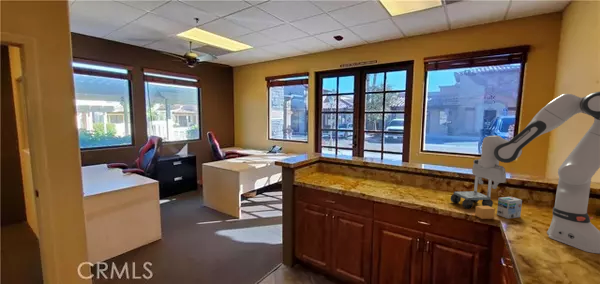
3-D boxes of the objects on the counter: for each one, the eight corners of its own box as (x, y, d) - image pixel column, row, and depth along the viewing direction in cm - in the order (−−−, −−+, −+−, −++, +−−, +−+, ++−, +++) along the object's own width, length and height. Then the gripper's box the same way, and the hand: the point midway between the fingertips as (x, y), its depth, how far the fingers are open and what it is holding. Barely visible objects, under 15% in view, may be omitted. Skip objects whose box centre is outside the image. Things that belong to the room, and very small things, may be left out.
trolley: (492, 208, 170) (495, 177, 168) (464, 209, 167) (467, 178, 165) (476, 201, 183) (479, 173, 181) (450, 202, 180) (452, 173, 178)
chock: (494, 218, 154) (495, 208, 153) (481, 218, 153) (482, 209, 152) (487, 215, 159) (487, 205, 158) (475, 215, 158) (475, 206, 157)
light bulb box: (507, 218, 153) (509, 201, 152) (496, 214, 159) (497, 197, 158) (520, 217, 156) (522, 199, 155) (509, 213, 162) (511, 196, 161)
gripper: (510, 166, 142) (507, 191, 144) (480, 159, 162) (478, 181, 164) (500, 166, 141) (497, 191, 143) (471, 159, 162) (469, 181, 163)
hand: (487, 186), depth 154 cm, fingers open, 8 cm apart
